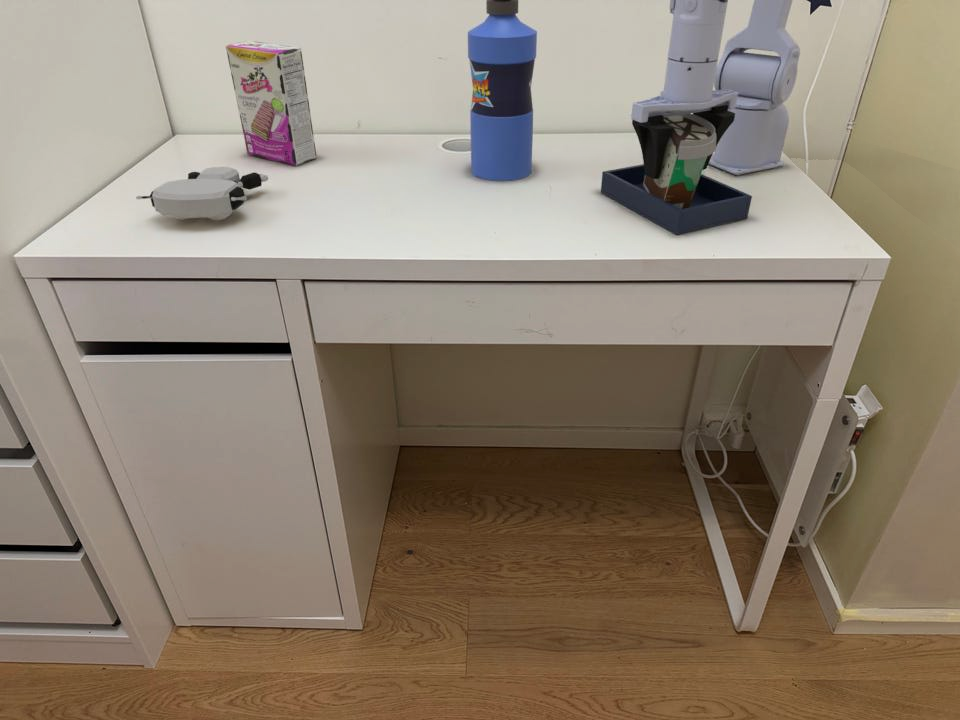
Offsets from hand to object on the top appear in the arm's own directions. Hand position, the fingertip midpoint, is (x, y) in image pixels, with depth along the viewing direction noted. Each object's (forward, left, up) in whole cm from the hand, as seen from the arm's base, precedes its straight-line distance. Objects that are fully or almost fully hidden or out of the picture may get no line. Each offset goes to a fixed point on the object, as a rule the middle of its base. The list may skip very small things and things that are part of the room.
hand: (675, 172), depth 88 cm
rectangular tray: (0, 0, -4) cm, 4 cm away
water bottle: (+14, -23, -5) cm, 27 cm away
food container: (0, +1, -4) cm, 4 cm away
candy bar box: (+42, -45, -5) cm, 61 cm away
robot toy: (+55, -27, -5) cm, 61 cm away
